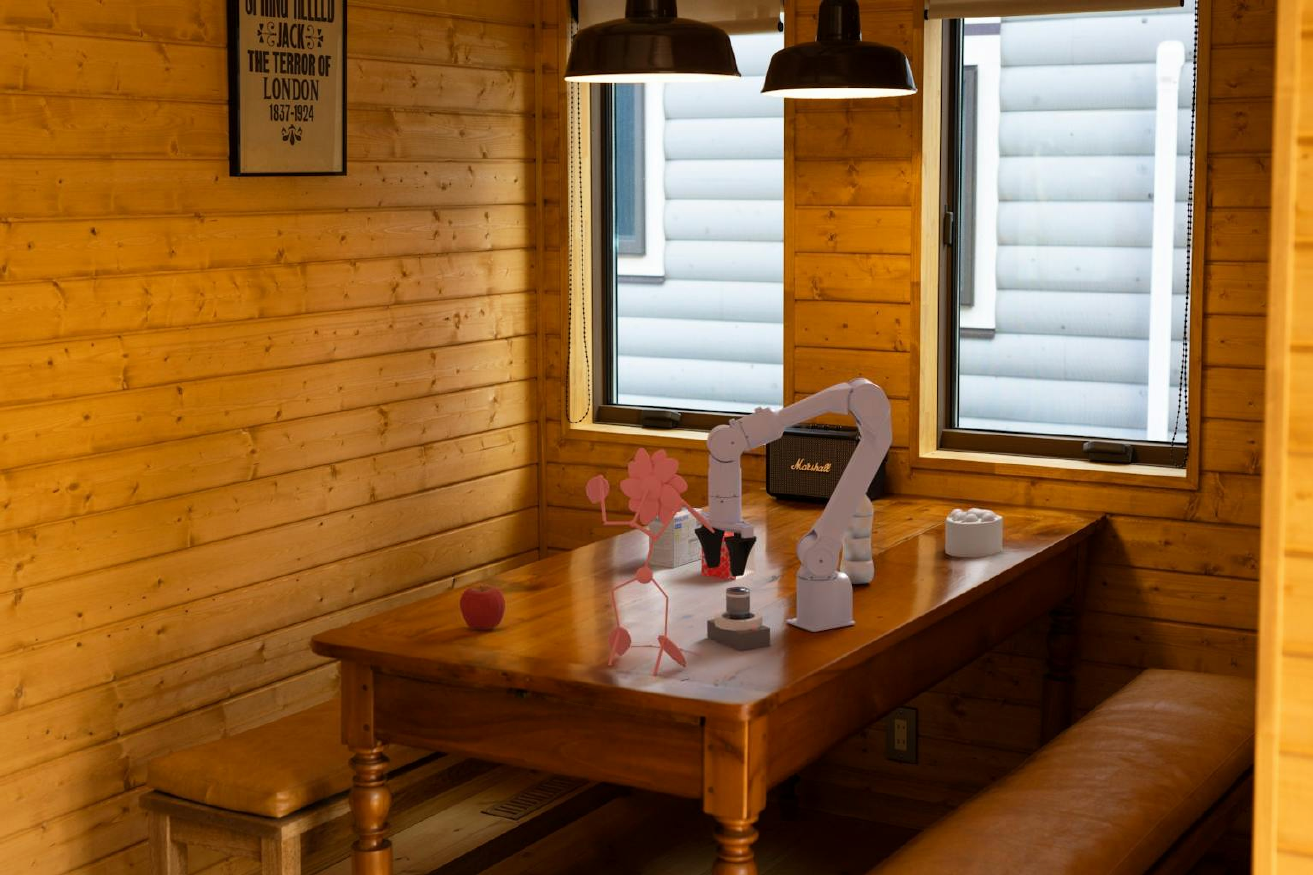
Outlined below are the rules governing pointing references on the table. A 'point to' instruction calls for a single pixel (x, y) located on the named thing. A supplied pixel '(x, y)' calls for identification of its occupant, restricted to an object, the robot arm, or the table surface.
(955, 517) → the lumpy-topped squat cylinder
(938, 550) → the table surface
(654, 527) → the light bulb box
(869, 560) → the plastic bottle
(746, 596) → the lens
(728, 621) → the camera body
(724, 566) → the red patterned gift box
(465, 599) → the apple
